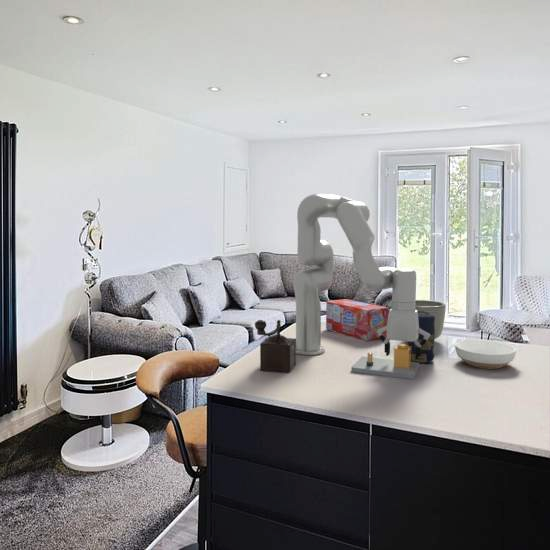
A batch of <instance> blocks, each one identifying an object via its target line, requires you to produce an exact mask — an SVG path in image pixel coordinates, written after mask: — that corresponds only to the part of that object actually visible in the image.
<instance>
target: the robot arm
mask: <svg viewBox="0 0 550 550" xmlns="http://www.w3.org/2000/svg"><path fill="white" fill-rule="evenodd" d="M370 213H371V212H370V209H369V207H368V206H367V204H365V203H364V202H362V201H358V200H353V199H350V198H347V197H345V196H339V195H336V194H326V193H313V194H309V195H307V196H306V197H304V199H302V200H301V202H300V203H299V205H298V207H297V213H296V214H297V216H296V217H297V218H296V219H297V259H298V262H299V263H300V264H301V265H303V266H307V267H308V266H311V268H307V269H302V270H301V271H300V270H299V272H297V273H296V274H295V276H294V278H293V281H292V282H293V285H292V286H293V289H294V290H293V291H294V297H295V298H294V299H295V338H294V339H296V355H304V356H315V355H316V356H317V355H320V354H321V355H322V354H324V352H325V351H326V350H325V349H326V348H325V347H324V346H322V345H321V340H322V339H321V338H322V337H321V335H322V334H321V333H322V329H321V328H322V325H321V324H322V322H321V321H322V317H321V316H322V307H321V306H322V305H321V299H320V297H319V293H322V292H325V291H328V290H329V289H330V288H331V286H332V285H333V279H334V250H333V248H332V245H331V244H330V243H329V242H328V241H327V240H324V239H321V225H320V223H319V220H318V219H320V218H332V219H337V221H338V223H339V226H340V228H341V229H342V231H343V232H344V234H345V237H346V239H347V240H348V242H349V244H350V246H351V248H352V258H353V259H352V260H353V264H354V265H353V266H354V268H355V271H356V272H357V274H358V276H359V278H360V280H361V282H362V283H363V285H364V286H365V287H366V288H367V290H370V291H373V292H378V291H383V290H388V289H392V291H391V292H392V293H391V294H392V295H391V301H387V306H389V307H391V308H390V309H388V321H387V326H385V327H382V328H380V329H378V330H377V333H378V335H379V337H380V340H381V341H382V342H383V344H384V353H385V356H386V357H388V356H389V355H390V354H391V342H390V341H401V342H406V343H407V342H414V343H415V344H416V345H417V346H416V356H415V359H418V358H419V356H421V346H422V345H424V344H425V343H426V342H427V340H428V338H429V337H430V334H429V333H427V332H426V331H424V330H422V329H420V328H419V319H418V312H417V310H415V304H416V300H417V299H416V298H417V297H416V296H417V272H416V270H414V269H413V268H396V267H392V266H381V267H379V266H378V264H377V262H376V260H375V259H374V256H373V253H372V246H373V243H374V240H375V237H376V236H375V234H374V232H373V230H372V229H371V227H370V226H369V225H370V224H368V221H369V219H370ZM386 330H387V337H385V336H384V335H383V333H382V332H383V331H386ZM419 333H420V334H422V335H424V336H425V337H424V339H423V340H422V341H420V340H419V339H418V337H419Z"/></svg>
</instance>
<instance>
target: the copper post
mask: <svg viewBox="0 0 550 550" xmlns="http://www.w3.org/2000/svg"><path fill="white" fill-rule="evenodd" d="M367 357H368V361H367V365H368V366H373V362H372V358H373V352H368V353H367Z"/></svg>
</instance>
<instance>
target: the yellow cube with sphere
mask: <svg viewBox="0 0 550 550" xmlns="http://www.w3.org/2000/svg"><path fill="white" fill-rule="evenodd" d="M393 360H394V366H396V367H404V368H409V366H410V365H411V362H412V361H411V347H409V346H408V345H407V343H406V344H405V343H399V344H397V345H395V347H394V348H393Z"/></svg>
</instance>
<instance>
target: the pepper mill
mask: <svg viewBox="0 0 550 550" xmlns="http://www.w3.org/2000/svg"><path fill="white" fill-rule="evenodd" d="M254 326H255V329H256V330H257V332H256V334H257V335H258V336H268V337H266V338H264V340H263V341H262V342H260V343H259V349H260V350H259V351H260V352H259V353H260V354H259V356H260V361H259V363H260V364H259V365H260V367H259V368H260V369H259V370H260V371H263V372H271V373H280V374H283V373H284V374H289V373H291V372H292V371H293V369H294V368H295V366H296V364H297V358H296V357H297V354H296V339H295V338H293V337H291V338H290V337H286V336H284V335H281V332H280V331H281V320H280V319H277V320H276V327H275V329H274V331H272V332H269V333H268V332H266V331H265V329H266V328H267V322H266V321H265V320H263V319H259V320H257V321H255V322H254Z"/></svg>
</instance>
